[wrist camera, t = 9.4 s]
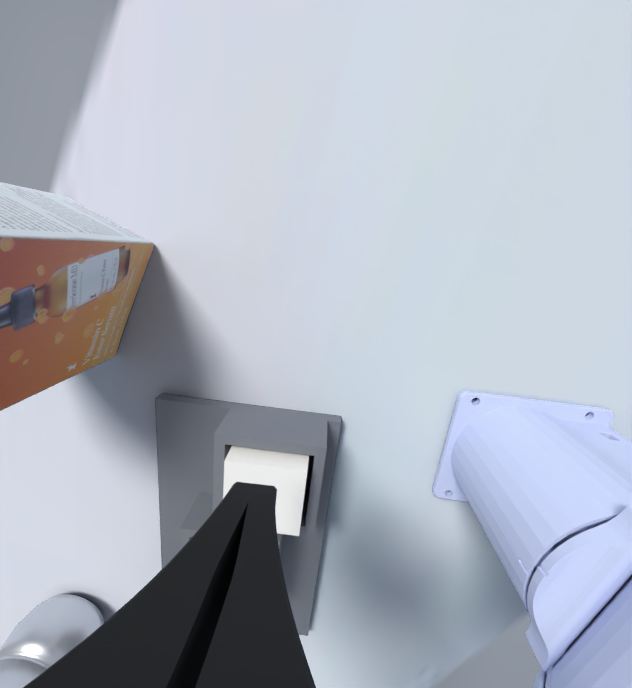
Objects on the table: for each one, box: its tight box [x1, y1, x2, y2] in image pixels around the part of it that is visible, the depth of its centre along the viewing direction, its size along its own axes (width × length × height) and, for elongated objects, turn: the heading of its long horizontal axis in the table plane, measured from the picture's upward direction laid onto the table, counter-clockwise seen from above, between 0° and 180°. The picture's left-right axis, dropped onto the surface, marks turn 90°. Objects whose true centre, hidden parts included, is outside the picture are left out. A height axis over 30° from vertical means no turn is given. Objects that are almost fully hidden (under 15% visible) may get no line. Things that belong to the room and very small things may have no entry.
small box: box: [0, 182, 154, 411], centre depth 14 cm, size 8×6×10 cm
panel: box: [155, 394, 341, 636], centre depth 22 cm, size 12×20×4 cm, turn 173°
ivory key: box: [223, 445, 309, 536], centre depth 18 cm, size 4×4×2 cm
